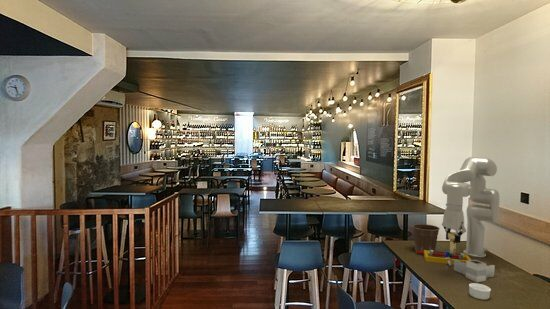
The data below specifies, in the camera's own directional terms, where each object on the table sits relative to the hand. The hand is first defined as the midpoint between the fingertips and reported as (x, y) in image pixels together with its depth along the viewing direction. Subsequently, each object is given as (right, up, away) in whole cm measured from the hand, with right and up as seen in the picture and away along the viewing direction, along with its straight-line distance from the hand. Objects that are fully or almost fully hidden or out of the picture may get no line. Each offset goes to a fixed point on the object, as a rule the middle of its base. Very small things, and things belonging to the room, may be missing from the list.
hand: (453, 240), depth 191 cm
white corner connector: (+12, -18, +1) cm, 22 cm away
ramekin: (0, -20, -25) cm, 32 cm away
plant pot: (+1, -17, +39) cm, 43 cm away
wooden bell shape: (0, -7, 0) cm, 7 cm away
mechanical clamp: (+6, -18, +22) cm, 29 cm away
